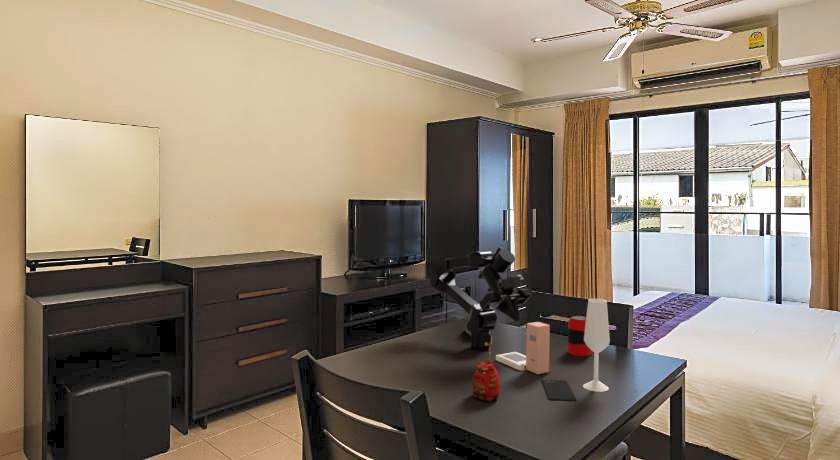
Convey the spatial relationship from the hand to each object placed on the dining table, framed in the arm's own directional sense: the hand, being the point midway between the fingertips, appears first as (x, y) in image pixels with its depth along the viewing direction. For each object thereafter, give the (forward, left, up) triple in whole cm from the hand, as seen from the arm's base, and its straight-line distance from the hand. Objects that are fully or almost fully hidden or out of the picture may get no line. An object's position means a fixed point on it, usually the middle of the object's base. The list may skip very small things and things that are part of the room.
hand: (518, 320), depth 163 cm
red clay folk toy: (-6, -33, -13) cm, 36 cm away
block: (+6, -9, -13) cm, 17 cm away
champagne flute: (+22, -18, -13) cm, 31 cm away
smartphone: (+12, -23, -14) cm, 29 cm away
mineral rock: (-18, +29, -13) cm, 36 cm away
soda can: (+19, +14, -13) cm, 27 cm away
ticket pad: (0, -2, -13) cm, 13 cm away
